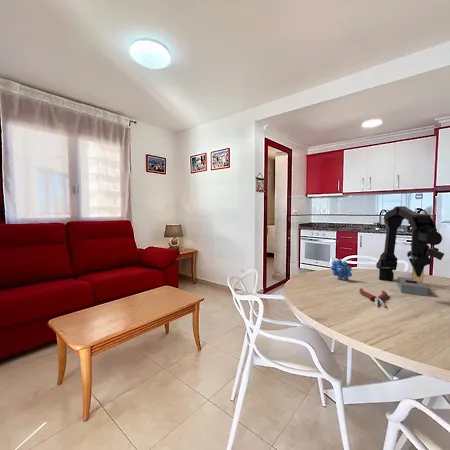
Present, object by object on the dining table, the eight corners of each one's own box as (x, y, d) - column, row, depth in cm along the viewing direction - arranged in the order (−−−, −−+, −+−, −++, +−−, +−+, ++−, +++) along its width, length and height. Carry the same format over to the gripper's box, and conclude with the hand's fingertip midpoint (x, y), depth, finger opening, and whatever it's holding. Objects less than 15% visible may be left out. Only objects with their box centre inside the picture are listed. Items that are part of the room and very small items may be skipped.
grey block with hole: (401, 292, 120) (401, 284, 120) (397, 283, 134) (397, 276, 134) (426, 296, 115) (427, 287, 115) (420, 286, 129) (420, 279, 129)
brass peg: (413, 280, 110) (414, 263, 110) (411, 278, 113) (412, 261, 113) (423, 281, 108) (424, 264, 108) (421, 279, 111) (422, 262, 111)
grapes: (328, 279, 142) (329, 259, 141) (331, 277, 148) (331, 257, 147) (350, 283, 136) (351, 261, 135) (352, 280, 141) (352, 259, 140)
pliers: (365, 307, 104) (365, 301, 103) (358, 292, 122) (358, 287, 122) (397, 311, 99) (397, 305, 99) (385, 295, 118) (385, 289, 118)
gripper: (449, 246, 98) (447, 283, 99) (437, 240, 114) (435, 273, 115) (414, 244, 103) (412, 280, 104) (407, 239, 119) (406, 270, 120)
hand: (417, 275), depth 111 cm, fingers closed on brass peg, 4 cm apart
